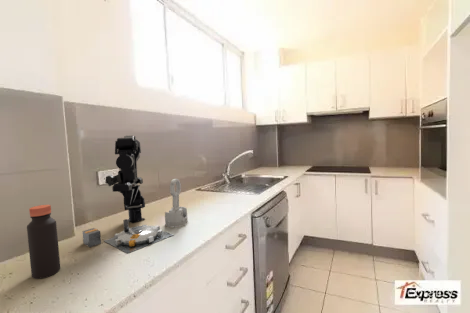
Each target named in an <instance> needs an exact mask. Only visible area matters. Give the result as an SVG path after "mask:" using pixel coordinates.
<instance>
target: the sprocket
mask: <svg viewBox="0 0 470 313" xmlns="http://www.w3.org/2000/svg"><path fill="white" fill-rule="evenodd" d="M128 219H129V218H128ZM128 219H125V218H124V219H123V230H122V231H120V232H119V233H118V232H117V233H114V237H115V244H116V245H120V244H123V245H129V246H135V245H137V244H142V243H146V242H152V241H154V239H155V238H157V237H158V236H162V231H163V229H161V228H160V227H161V226H160V225H147V224H142V225H137V226H133V227H130V226H129V225H130V224H129V223H130V222H128Z"/></svg>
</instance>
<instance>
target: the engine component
mask: <svg viewBox="0 0 470 313" xmlns="http://www.w3.org/2000/svg"><path fill="white" fill-rule="evenodd" d="M175 185H176V186H175ZM175 187H176V189H175ZM181 191H182V184H181V181H180V179H178V178H173V179H171V181H170V183H169V193H170V195H171V198H172V207H171V208H170V209H169V210H168V211H165V212H164V219H165V221H164V222H165V223H164V224H165V226H166V227H168V228H175V227H176V228H177V227H182V226H185V225H187V224H188V223H189V221H188V220H189V219H188V210H187V207H186V206H180V194H181Z"/></svg>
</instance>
